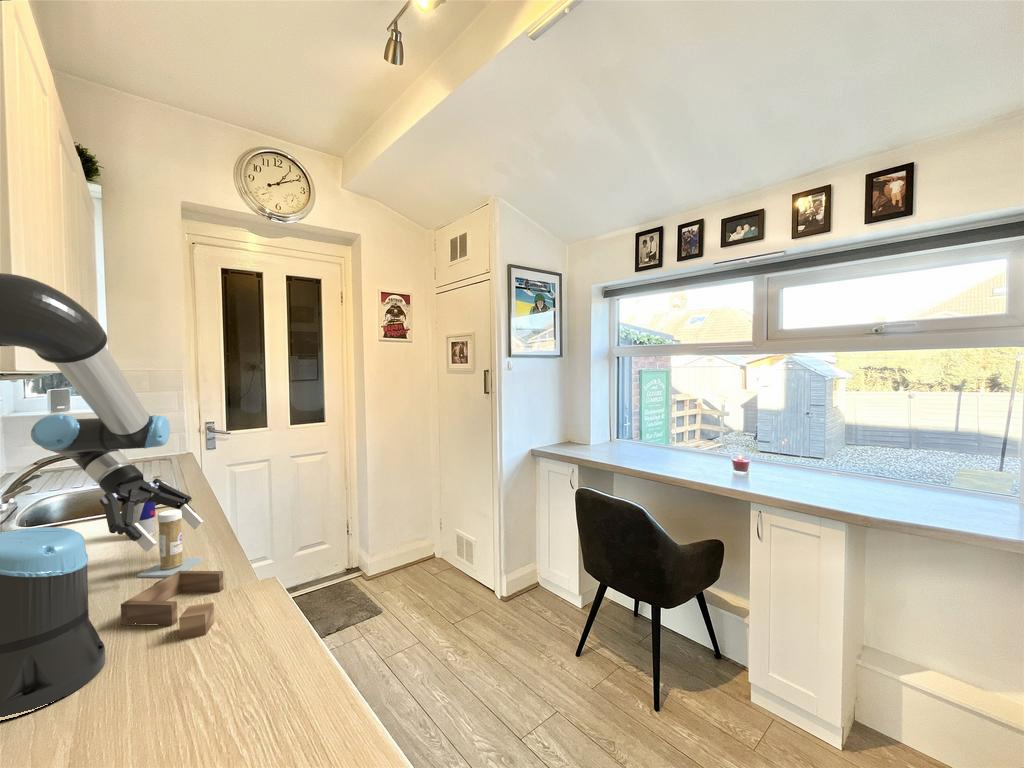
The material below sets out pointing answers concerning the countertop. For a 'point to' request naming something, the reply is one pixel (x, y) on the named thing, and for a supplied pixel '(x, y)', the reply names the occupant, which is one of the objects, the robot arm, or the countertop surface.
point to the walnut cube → (196, 620)
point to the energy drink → (145, 516)
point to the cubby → (153, 600)
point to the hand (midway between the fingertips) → (177, 535)
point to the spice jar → (170, 539)
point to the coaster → (160, 573)
